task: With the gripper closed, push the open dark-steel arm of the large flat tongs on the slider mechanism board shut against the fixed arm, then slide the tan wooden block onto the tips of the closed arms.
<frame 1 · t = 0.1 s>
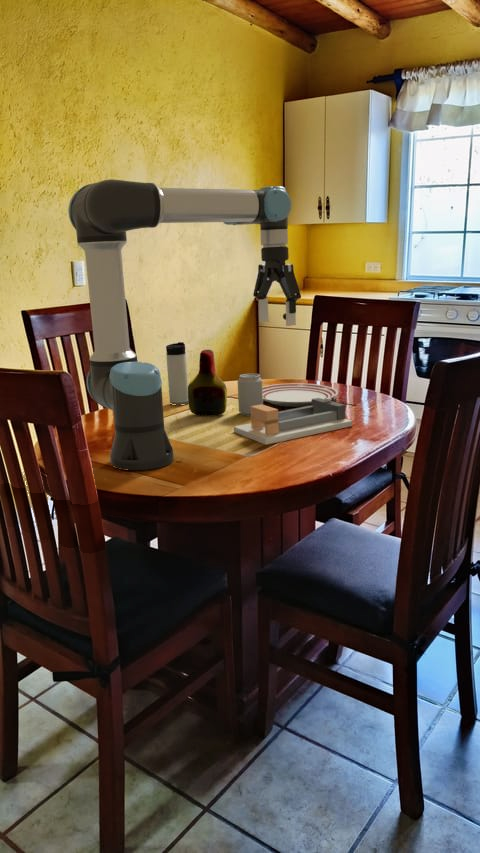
hand: (277, 323, 189), 28 cm above the table, tool pointing down, fingers open, 13 cm apart
dinner plate: (295, 401, 219), on the table
can: (251, 414, 204), on the table
tan wooden block: (264, 419, 176), point 5 cm above the table, slide at 7.0 cm
bottle: (208, 415, 204), on the table
travel mug: (179, 404, 221), on the table
slider mechanism board: (301, 427, 185), on the table
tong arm: (287, 414, 187), point 3 cm above the table, slide at 6.0 cm
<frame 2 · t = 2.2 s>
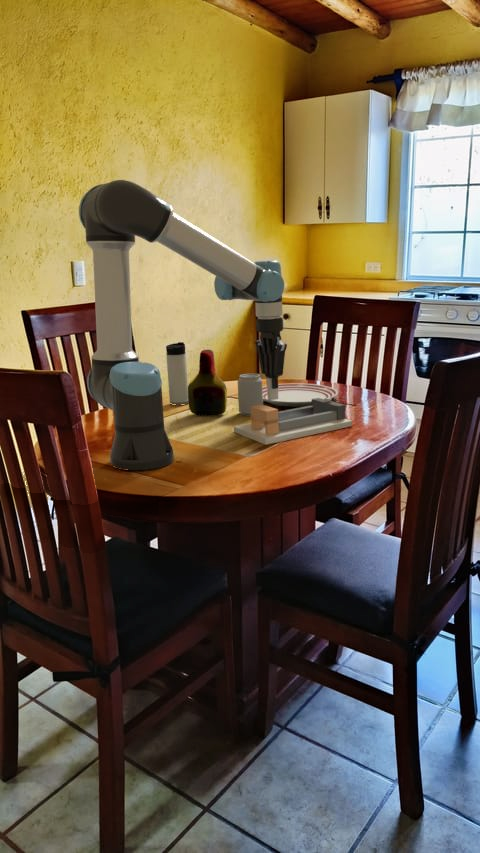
hand: (273, 399, 193), 6 cm above the table, tool pointing down, fingers closed
nothing on the table moved.
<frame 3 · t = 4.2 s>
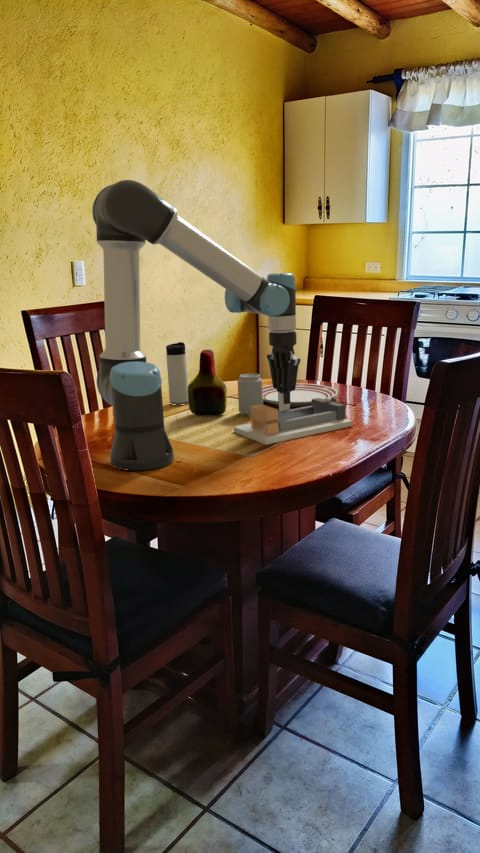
hand: (284, 414, 189), 3 cm above the table, tool pointing down, fingers closed
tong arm: (287, 414, 187), point 3 cm above the table, slide at 6.0 cm, touching gripper
everything else where it was.
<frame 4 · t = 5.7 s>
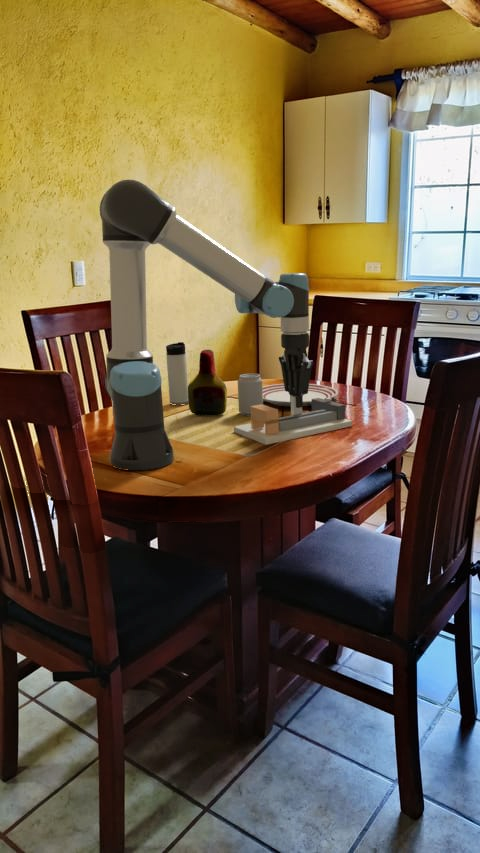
hand: (296, 418, 184), 3 cm above the table, tool pointing down, fingers closed
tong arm: (300, 418, 183), point 3 cm above the table, slide at 0.1 cm, touching gripper
everything else where it was.
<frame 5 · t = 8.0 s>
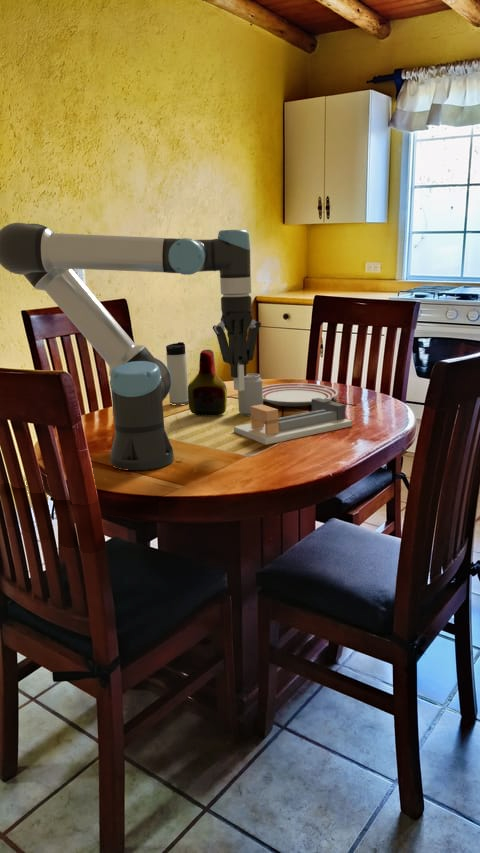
hand: (239, 389, 169), 14 cm above the table, tool pointing down, fingers closed
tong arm: (300, 418, 183), point 3 cm above the table, slide at 0.1 cm
everything else where it was.
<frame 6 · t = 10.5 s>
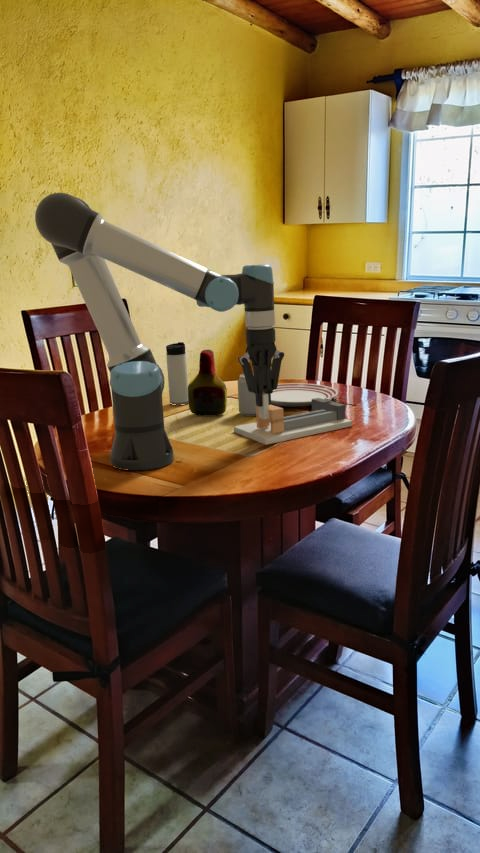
hand: (264, 417, 175), 6 cm above the table, tool pointing down, fingers closed
tan wooden block: (269, 418, 177), point 5 cm above the table, slide at 5.3 cm, touching gripper
everything else where it was.
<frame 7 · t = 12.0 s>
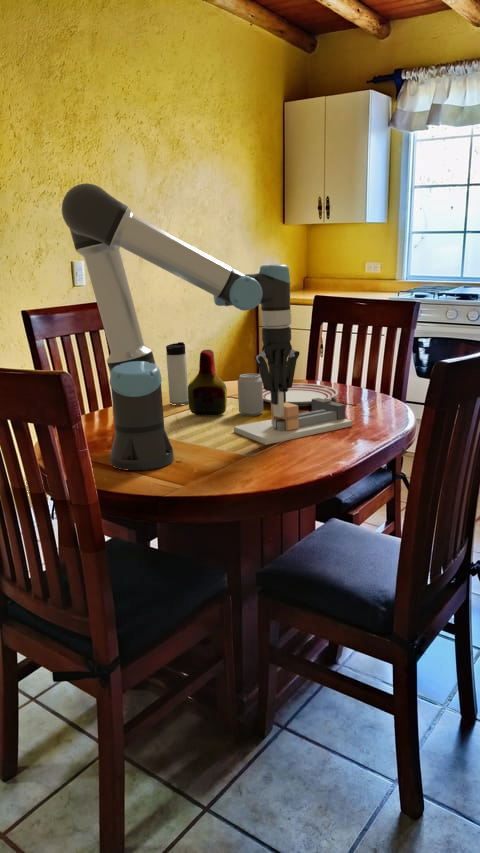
hand: (278, 415, 177), 5 cm above the table, tool pointing down, fingers closed
tan wooden block: (284, 415, 179), point 5 cm above the table, slide at 0.5 cm, touching gripper
everything else where it was.
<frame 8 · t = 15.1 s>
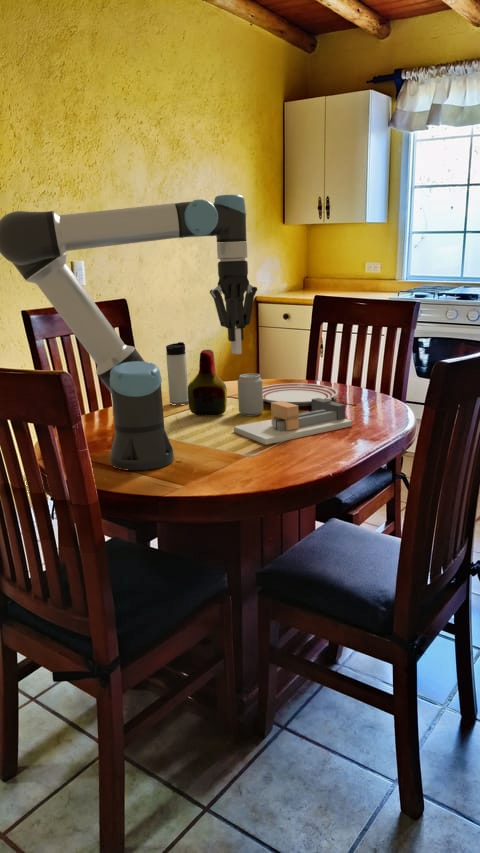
hand: (236, 353, 173), 22 cm above the table, tool pointing down, fingers closed
tan wooden block: (284, 415, 179), point 5 cm above the table, slide at 0.5 cm
everything else where it was.
at the end: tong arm slide at 0.1 cm; tan wooden block slide at 0.5 cm; can moved 0.2 cm from its start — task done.
